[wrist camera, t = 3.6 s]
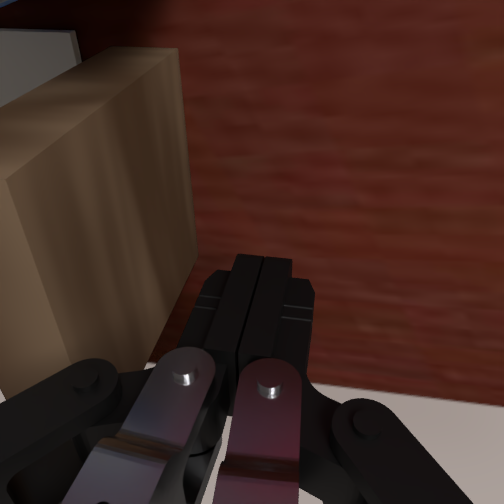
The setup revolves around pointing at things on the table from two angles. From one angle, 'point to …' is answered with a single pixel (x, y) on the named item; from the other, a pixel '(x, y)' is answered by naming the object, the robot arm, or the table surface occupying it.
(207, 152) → the table surface
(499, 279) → the table surface
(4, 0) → the medicine box
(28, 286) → the tile
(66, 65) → the mat
